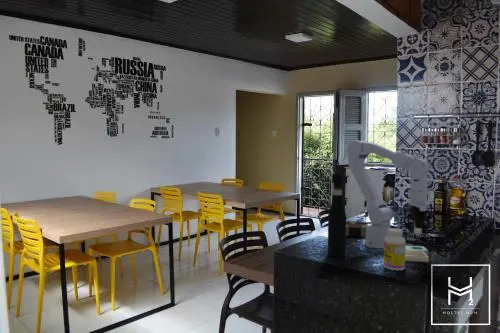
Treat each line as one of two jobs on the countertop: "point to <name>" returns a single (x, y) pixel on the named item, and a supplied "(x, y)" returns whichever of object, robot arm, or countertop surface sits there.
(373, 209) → the robot arm
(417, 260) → the tray
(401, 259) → the supplement bottle
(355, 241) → the countertop surface
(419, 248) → the tensioner block
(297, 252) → the countertop surface
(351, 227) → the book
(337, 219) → the wine bottle
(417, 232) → the spice jar
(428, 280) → the countertop surface
